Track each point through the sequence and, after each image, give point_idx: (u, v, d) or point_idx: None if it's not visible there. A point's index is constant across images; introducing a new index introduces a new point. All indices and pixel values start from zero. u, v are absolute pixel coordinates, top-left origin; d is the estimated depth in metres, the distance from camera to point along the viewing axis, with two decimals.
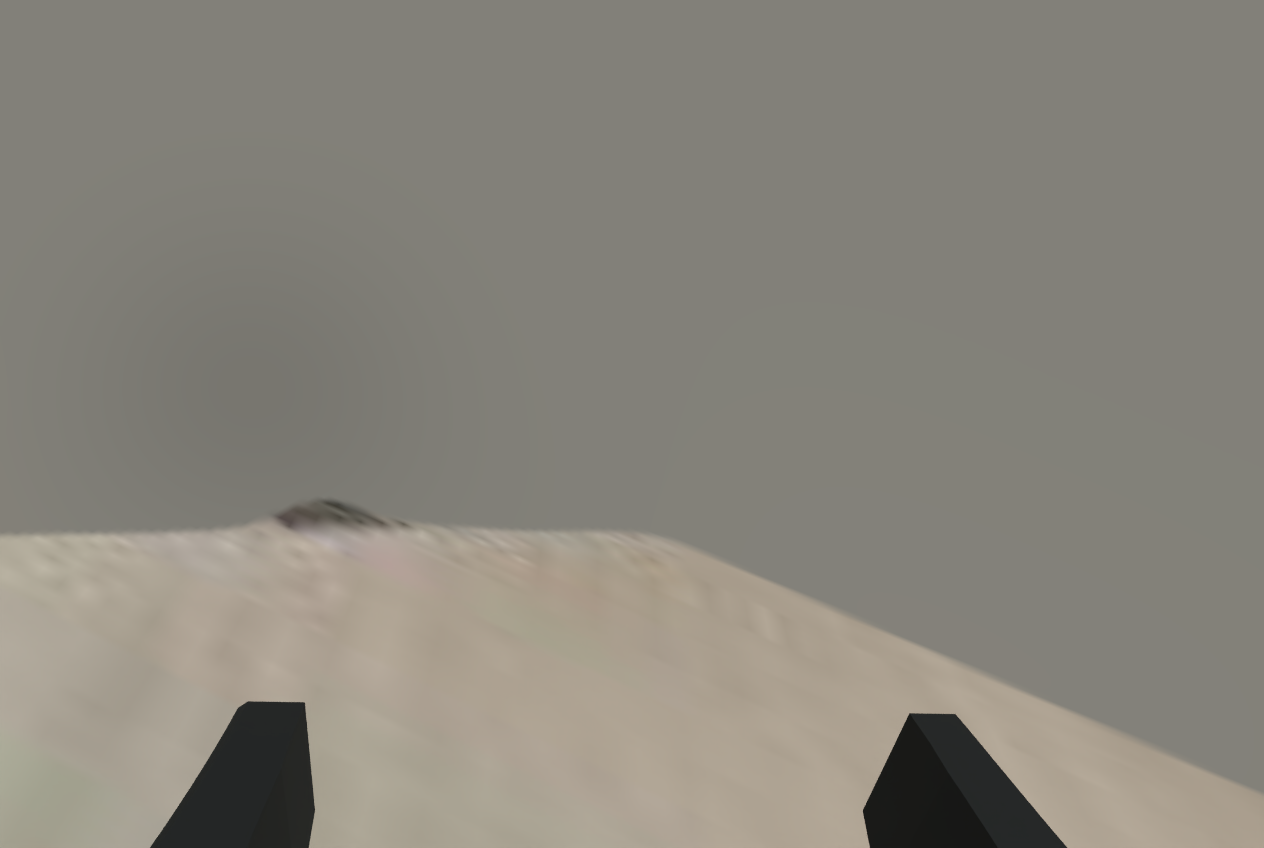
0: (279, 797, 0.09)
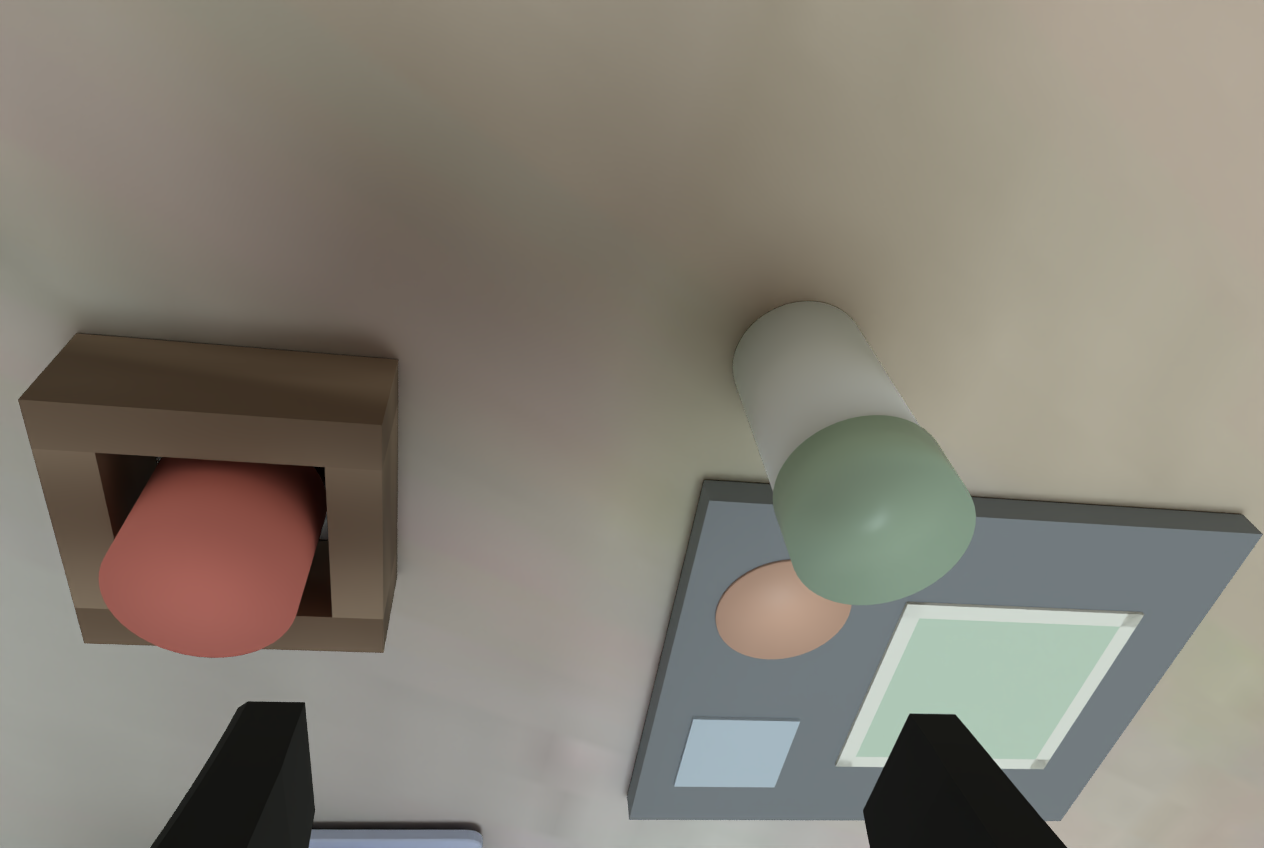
0: (279, 797, 0.09)
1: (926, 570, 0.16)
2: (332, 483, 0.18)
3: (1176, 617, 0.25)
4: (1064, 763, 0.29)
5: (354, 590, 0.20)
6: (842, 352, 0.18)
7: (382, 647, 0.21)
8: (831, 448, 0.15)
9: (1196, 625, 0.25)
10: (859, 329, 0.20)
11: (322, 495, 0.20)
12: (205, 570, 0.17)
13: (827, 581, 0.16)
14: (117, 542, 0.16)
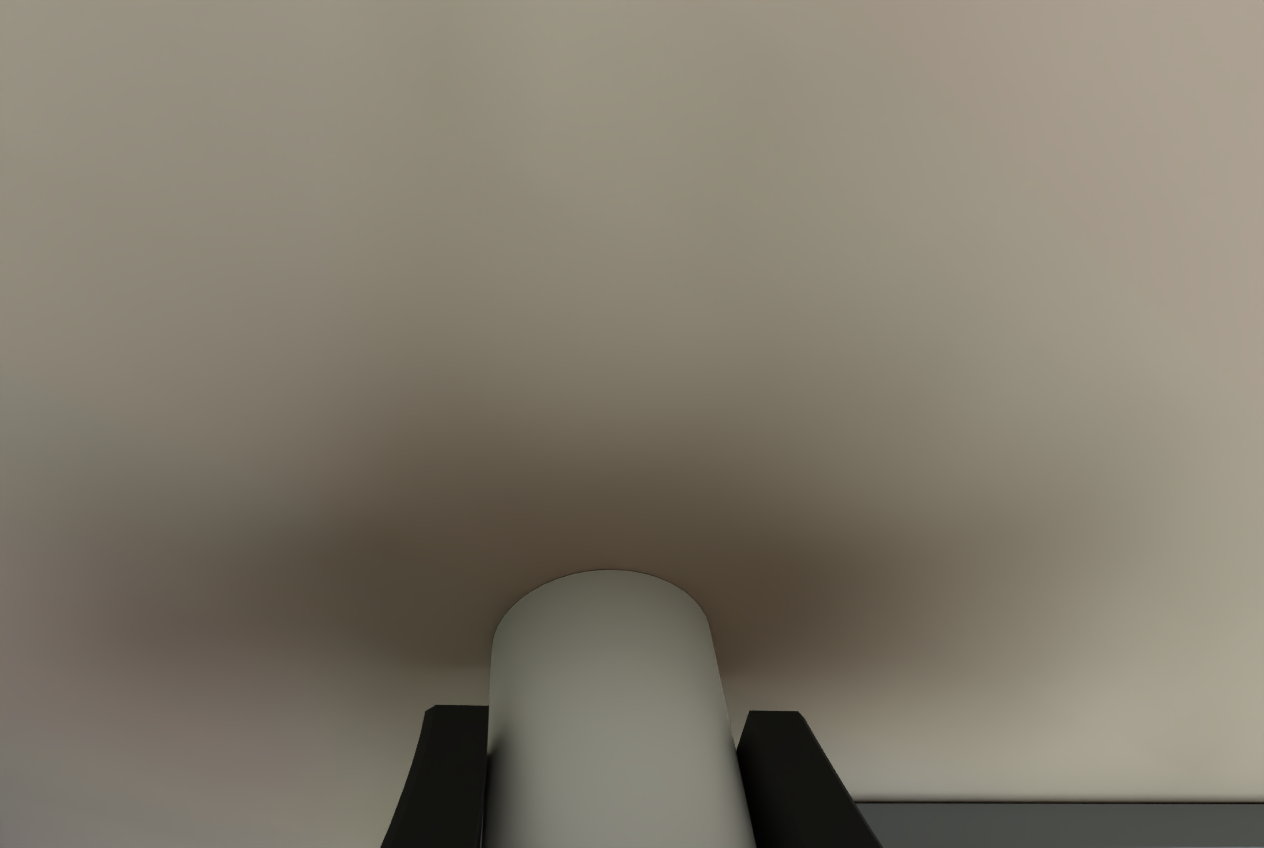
0: (483, 798, 0.09)
1: None
2: None
3: None
4: None
5: None
6: (628, 714, 0.10)
7: None
8: None
9: None
10: (694, 611, 0.12)
11: None
12: None
13: None
14: None
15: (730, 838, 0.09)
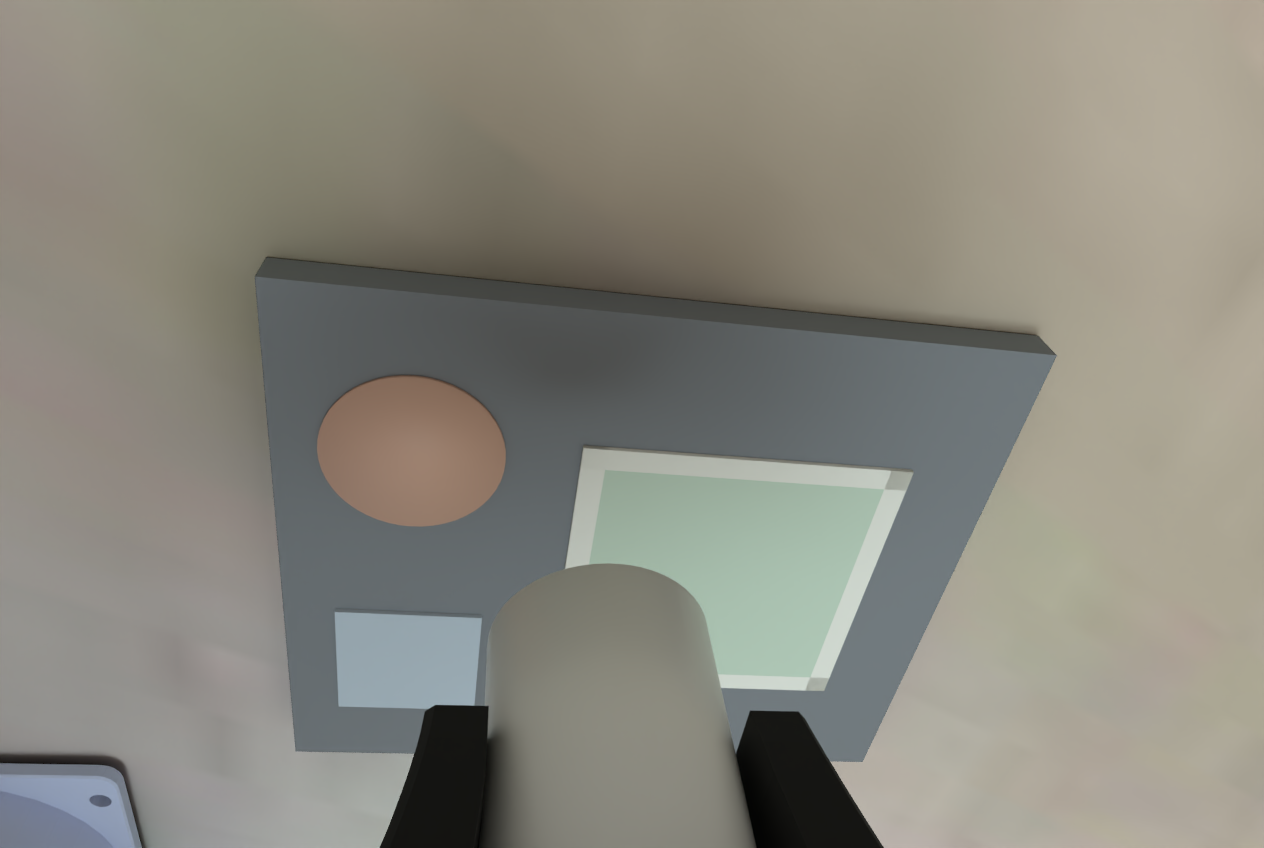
0: (483, 798, 0.09)
1: None
2: None
3: (960, 478, 0.19)
4: (851, 684, 0.23)
5: None
6: (620, 708, 0.10)
7: None
8: None
9: (989, 491, 0.19)
10: (689, 603, 0.12)
11: None
12: None
13: None
14: None
15: (725, 828, 0.09)
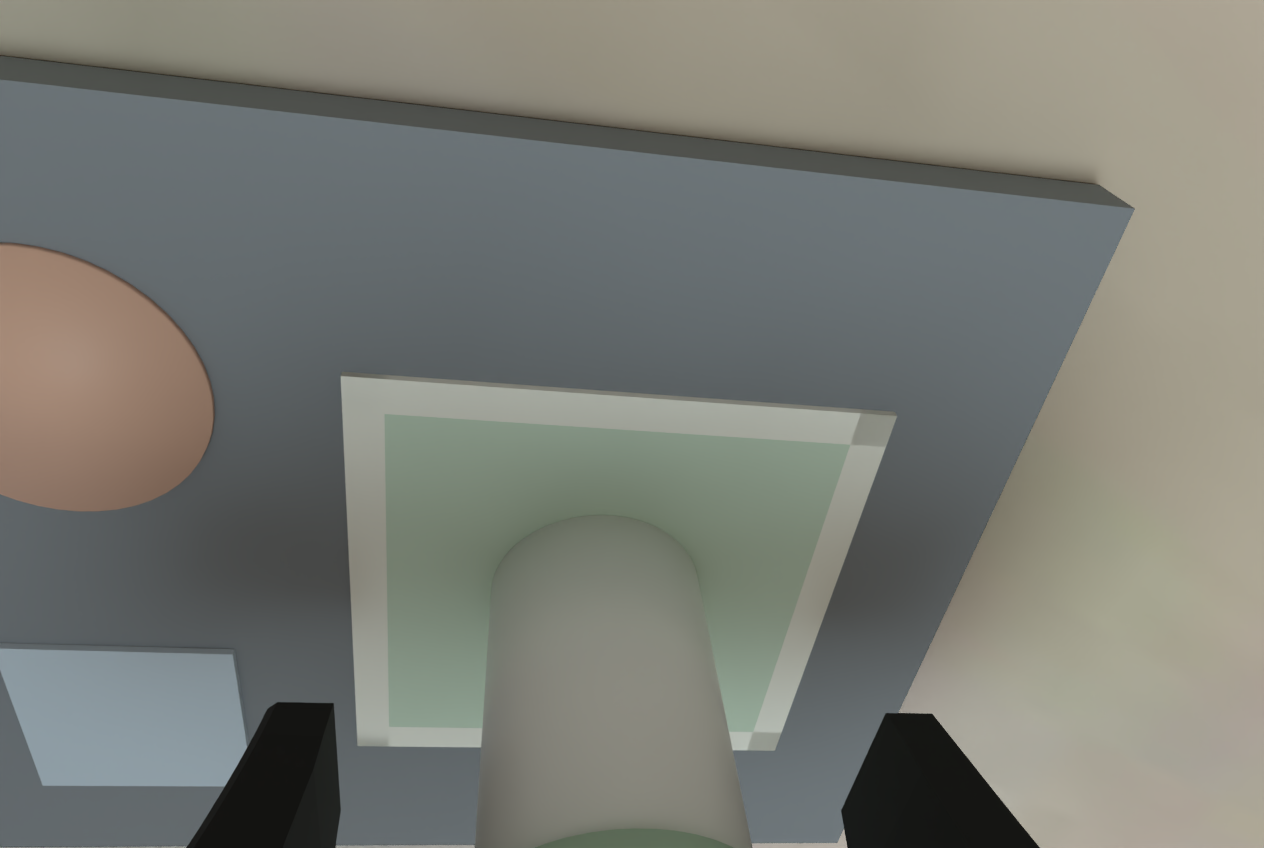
0: (311, 798, 0.09)
1: None
2: None
3: (972, 427, 0.12)
4: (815, 740, 0.16)
5: None
6: (611, 641, 0.10)
7: None
8: None
9: (1018, 447, 0.12)
10: (679, 553, 0.12)
11: None
12: None
13: None
14: None
15: (705, 747, 0.10)
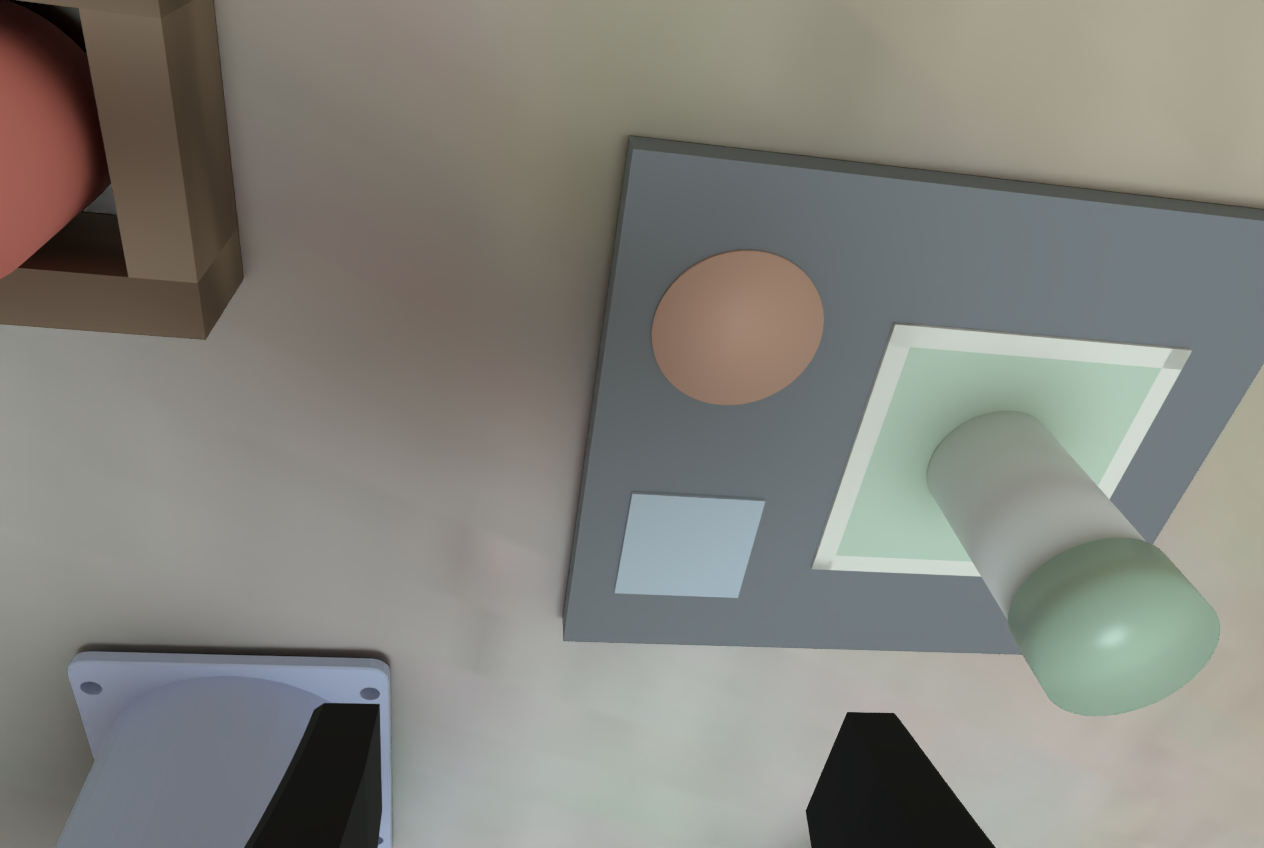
0: (362, 797, 0.09)
1: (1165, 683, 0.17)
2: (94, 39, 0.13)
3: (1231, 358, 0.20)
4: None
5: (151, 232, 0.15)
6: (1057, 467, 0.18)
7: (203, 330, 0.16)
8: (1080, 572, 0.16)
9: (1256, 371, 0.20)
10: None
11: None
12: None
13: (1071, 695, 0.17)
14: None
15: None
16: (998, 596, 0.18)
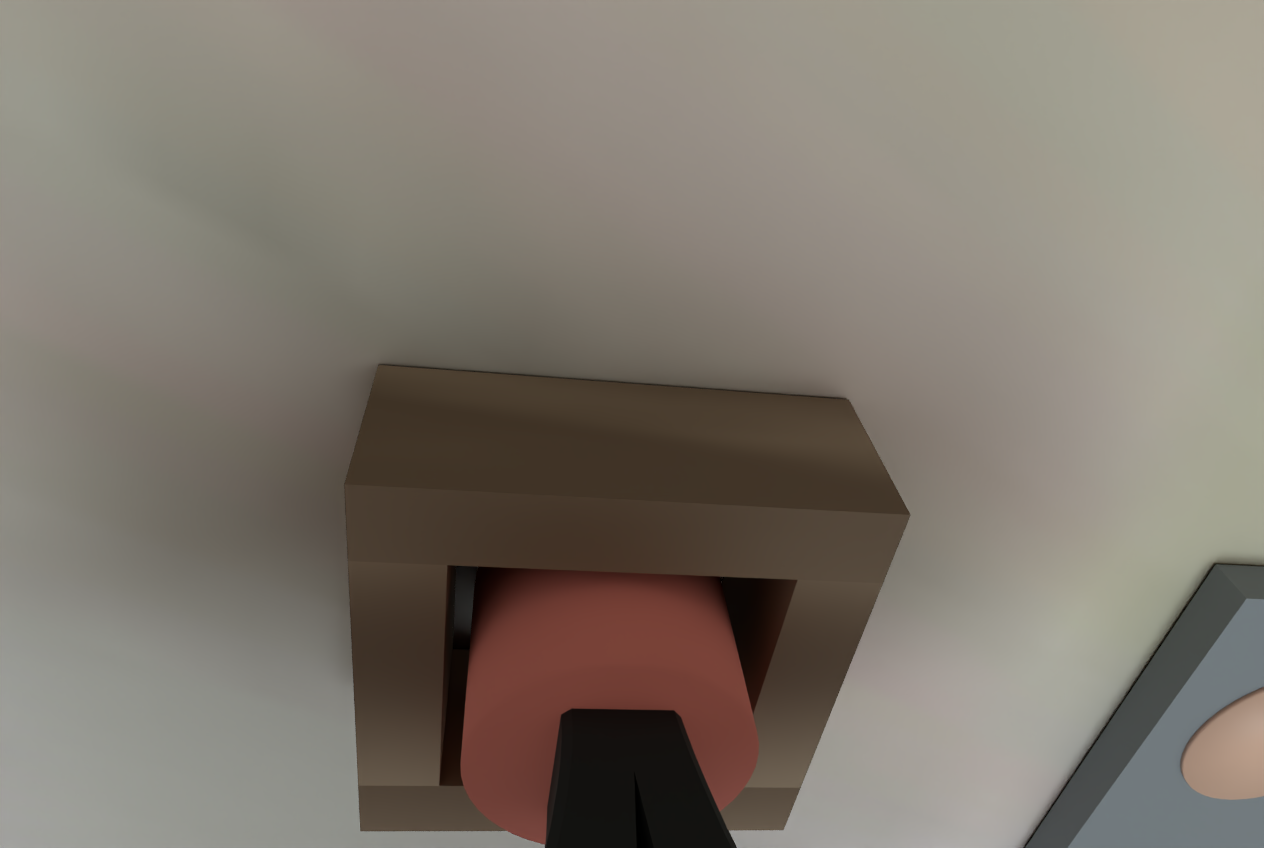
0: None
1: None
2: (800, 603, 0.11)
3: None
4: None
5: (774, 751, 0.13)
6: None
7: (784, 823, 0.14)
8: None
9: None
10: None
11: None
12: None
13: None
14: (509, 696, 0.10)
15: None
16: None
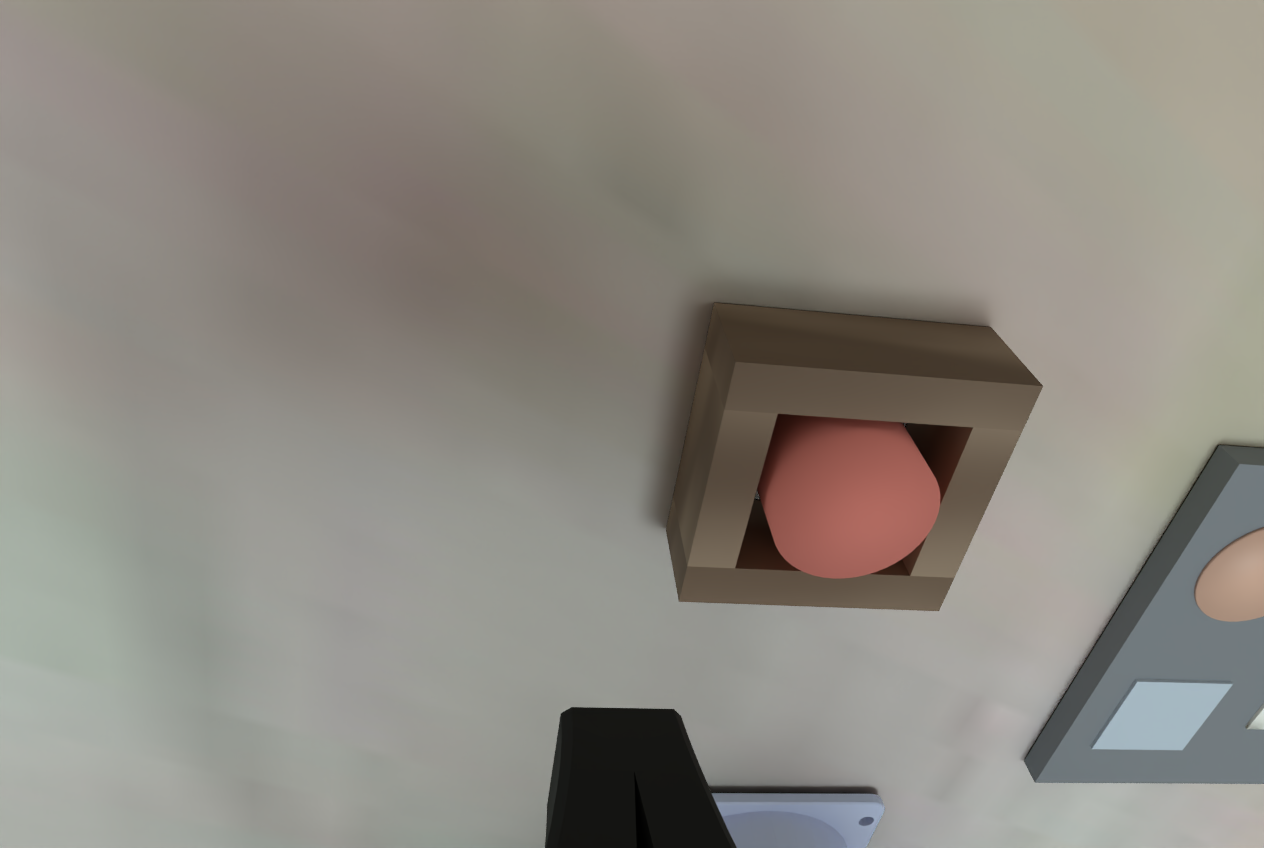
0: None
1: None
2: (972, 443, 0.19)
3: None
4: None
5: (942, 549, 0.20)
6: None
7: (940, 605, 0.21)
8: None
9: None
10: None
11: None
12: (871, 494, 0.19)
13: None
14: (811, 466, 0.18)
15: None
16: None
